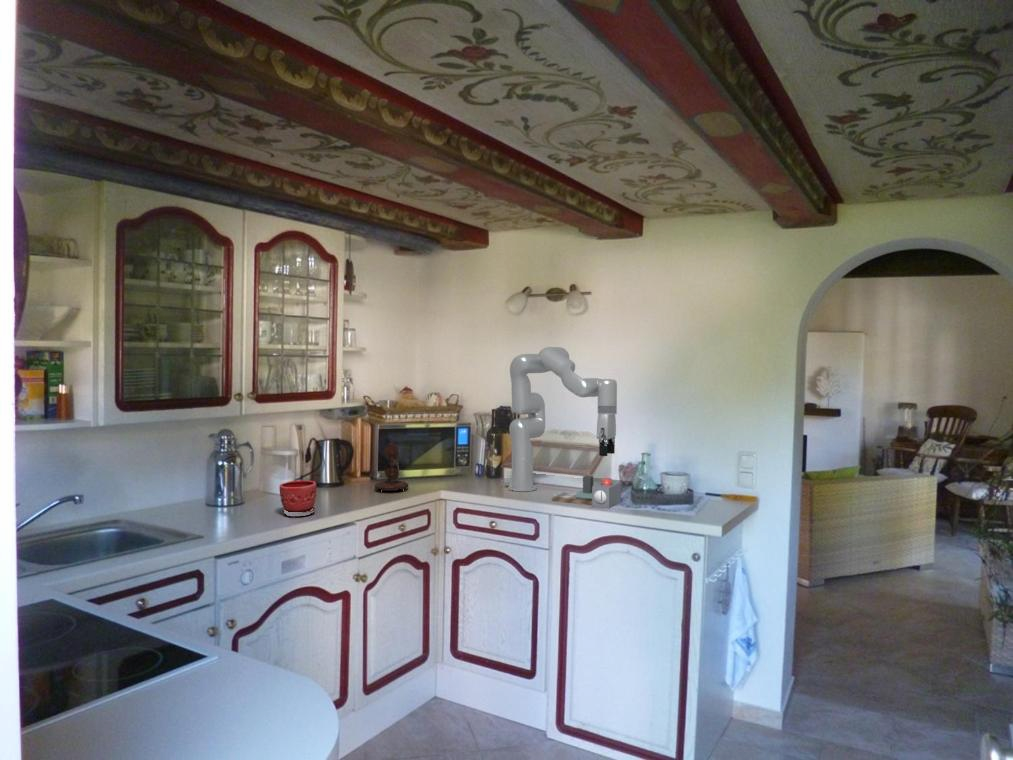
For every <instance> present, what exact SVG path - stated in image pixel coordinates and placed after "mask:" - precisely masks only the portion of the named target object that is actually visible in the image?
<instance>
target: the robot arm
mask: <svg viewBox="0 0 1013 760" xmlns="http://www.w3.org/2000/svg"><path fill="white" fill-rule="evenodd" d="M575 370H576V364H575V362H574V361H573V360H572V359H570V354H569V351H567V350H566V349H565V348H564V347H561V346H547V347H544V348H542V349H541V350H540V351H539V353H523V354H522V353H521V354H519V355H517V356H515V357H514V358H513V359H512V361H511V362H510V366H509V376H510V382H511V406H512V407H511V408H512V411H513V413H514V414H516V415H521V416H522V415H527V417H526V416H525V417H524V416H523V417H518V418H516V419H513V420H512V421H511V422H510V424H509V435H510V444H511V477H510V478H504V484H509V485H507V489H508V490H509V491H512V490H513V492H532V491H536V490H537V486H536V485H535V484H534V447H533V443H532V442H531V439H537V438H540V437H542V436H543V435H544V433H545V430H546V406H545V405H546V403H545V400H544V398H543V397H542V395H541V394H539V393H538V392H532V390H531V389H532V388H531V387H532V386H531V385H532V384H531V380H530V378H529V377H528V374H543V373H547V372H552V373H553V374H554V375H556V376H557V377H559V378H560V380H561V382H562V385H563V386H564V388H565V389H567V390H568V391H569V392H570V393H572V394H574V395H575V396H577V397H579V398H595V397H597V419H596V421H597V422H596V439H597V440H598V446H599V448H598V451H599V452H598V453H599V454H598V455H599V457H607V456H608V454H611V455H614V454H615V446H616V445H615V443H616V440H615V439H616V435H617V420H616V415H617V413H618V410H617V409H618V408H617V406H618V404H617V403H618V402H617V398H618V383H617V381H616V379H612V378H610V379H609V378H604V379H603V378H596V377H590V378H589V377H586V378H584V377H583V378H582V377H581V376H579V375H578V374H576V373H575Z"/></svg>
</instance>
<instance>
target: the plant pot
mask: <svg viewBox="0 0 1013 760" xmlns="http://www.w3.org/2000/svg"><path fill="white" fill-rule="evenodd" d="M279 495H280V502H281V505H282V506H283V508H284V509H285V510H286V511H288V512H303V513H307V511H308V512H312V511H314V510H315V511H316V508H315V507H314V505H315V503H316V499H317V482H316V481H314V480H307V479H306V480H305V479H302V480H291V481H286V482H283V483H281V484H279ZM312 508H313V510H312V511H310V510H311V509H312ZM284 509H283V510H284Z"/></svg>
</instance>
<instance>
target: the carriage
mask: <svg viewBox="0 0 1013 760" xmlns="http://www.w3.org/2000/svg"><path fill="white" fill-rule="evenodd" d="M592 486H594V476H593V475H584V476H582V490H581V491H578V492H576V493H575V494H576V497H580V498H590V499H592Z"/></svg>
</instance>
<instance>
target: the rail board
mask: <svg viewBox="0 0 1013 760" xmlns="http://www.w3.org/2000/svg"><path fill="white" fill-rule="evenodd" d="M551 502H559V503H570V504H579V505H588V506H592V499H590V498H580V497H576V493H571V492H562V491H561V492H558V494H553V496H551Z"/></svg>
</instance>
